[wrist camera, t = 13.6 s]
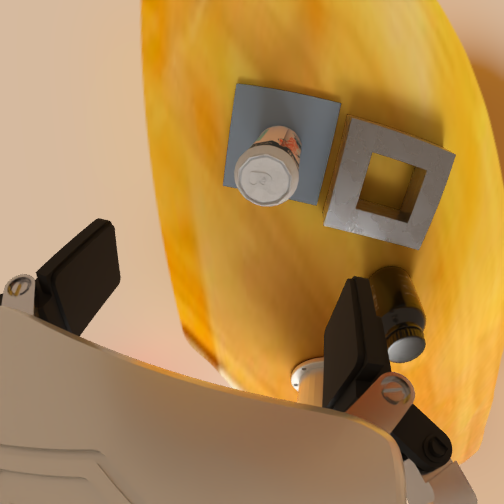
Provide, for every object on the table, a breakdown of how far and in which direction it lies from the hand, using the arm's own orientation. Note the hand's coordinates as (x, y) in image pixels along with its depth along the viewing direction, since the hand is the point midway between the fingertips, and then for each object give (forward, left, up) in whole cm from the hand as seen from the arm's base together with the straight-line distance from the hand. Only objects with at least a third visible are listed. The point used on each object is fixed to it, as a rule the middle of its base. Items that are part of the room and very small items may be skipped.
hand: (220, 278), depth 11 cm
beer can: (0, 0, -24) cm, 24 cm away
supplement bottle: (-15, -18, -24) cm, 34 cm away
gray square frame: (-1, -12, -24) cm, 27 cm away
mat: (0, 0, -24) cm, 24 cm away
